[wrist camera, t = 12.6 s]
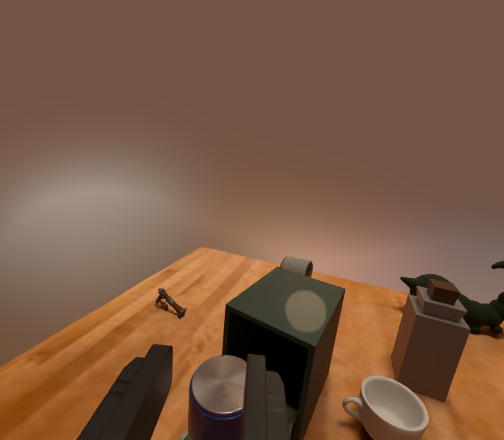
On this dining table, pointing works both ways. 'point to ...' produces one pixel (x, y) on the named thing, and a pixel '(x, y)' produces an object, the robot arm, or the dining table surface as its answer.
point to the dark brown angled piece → (169, 302)
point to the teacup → (389, 410)
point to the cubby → (287, 333)
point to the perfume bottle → (430, 340)
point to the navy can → (217, 399)
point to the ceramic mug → (297, 266)
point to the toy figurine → (469, 304)
